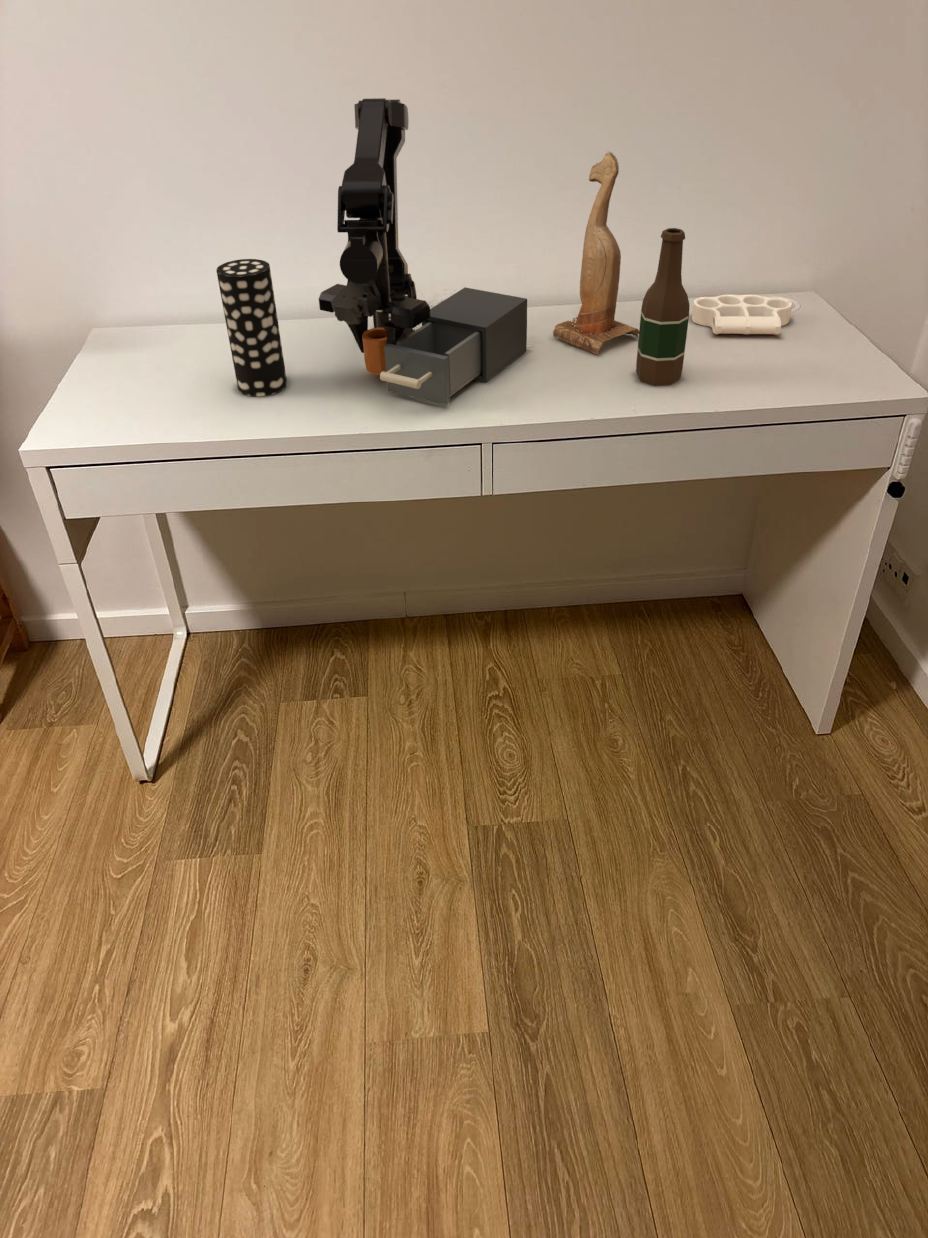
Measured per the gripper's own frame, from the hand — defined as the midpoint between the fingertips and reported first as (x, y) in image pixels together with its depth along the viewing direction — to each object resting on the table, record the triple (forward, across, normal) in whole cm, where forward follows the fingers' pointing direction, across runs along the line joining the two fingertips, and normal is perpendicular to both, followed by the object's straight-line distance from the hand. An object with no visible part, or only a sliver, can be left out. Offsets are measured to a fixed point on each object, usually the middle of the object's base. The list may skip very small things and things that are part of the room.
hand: (377, 355), depth 164 cm
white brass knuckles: (+4, +47, +51) cm, 70 cm away
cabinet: (+4, +11, +14) cm, 18 cm away
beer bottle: (+4, +42, +22) cm, 48 cm away
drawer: (+3, +11, -1) cm, 11 cm away
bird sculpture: (+4, +26, +32) cm, 42 cm away
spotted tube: (+4, -16, -12) cm, 20 cm away
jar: (+2, 0, +1) cm, 3 cm away
